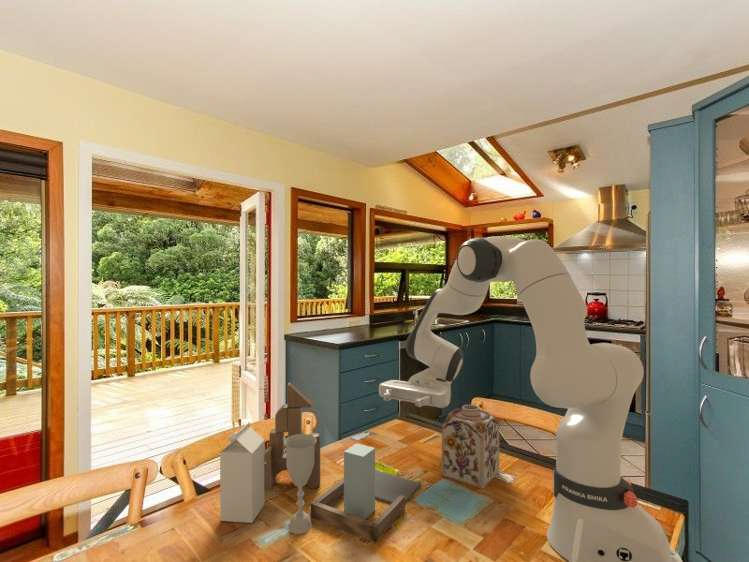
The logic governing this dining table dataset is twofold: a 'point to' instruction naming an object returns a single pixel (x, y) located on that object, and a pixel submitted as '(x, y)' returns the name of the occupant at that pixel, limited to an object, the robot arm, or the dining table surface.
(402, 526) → the dining table surface
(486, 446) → the decorative jar
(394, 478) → the dark grey flat plate
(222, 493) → the milk carton
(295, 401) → the wooden toy
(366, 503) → the block
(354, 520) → the wooden rectangular frame
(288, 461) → the chalice
